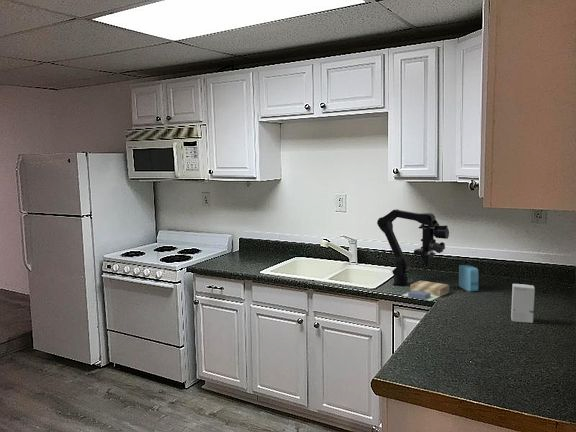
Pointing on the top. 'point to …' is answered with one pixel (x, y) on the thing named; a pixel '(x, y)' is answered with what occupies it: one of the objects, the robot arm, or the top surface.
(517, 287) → the skincare box
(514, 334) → the top surface
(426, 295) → the block
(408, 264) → the robot arm
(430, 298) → the mat
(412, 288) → the beige shallow box
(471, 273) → the data package
